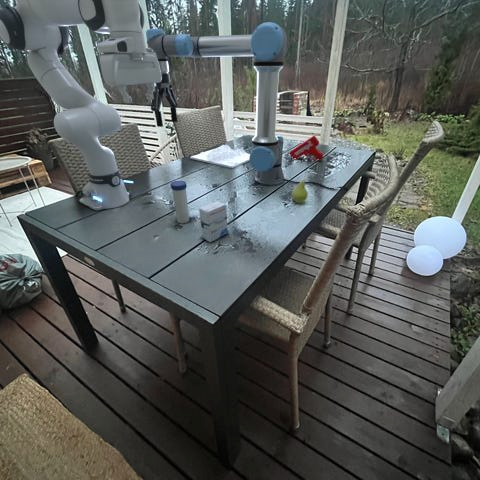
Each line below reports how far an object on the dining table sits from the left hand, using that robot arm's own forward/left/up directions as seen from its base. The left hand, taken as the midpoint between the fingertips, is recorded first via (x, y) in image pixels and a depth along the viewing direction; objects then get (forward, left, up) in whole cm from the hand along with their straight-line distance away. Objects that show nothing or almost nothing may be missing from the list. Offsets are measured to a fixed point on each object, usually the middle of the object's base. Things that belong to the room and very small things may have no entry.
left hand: (139, 101), depth 84 cm
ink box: (+24, 0, -43) cm, 49 cm away
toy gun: (+29, +106, -43) cm, 118 cm away
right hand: (-25, +41, -15) cm, 51 cm away
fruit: (+43, +41, -43) cm, 74 cm away
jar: (+7, +5, -43) cm, 43 cm away
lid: (+7, +5, -28) cm, 29 cm away
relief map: (-21, +86, -43) cm, 99 cm away
